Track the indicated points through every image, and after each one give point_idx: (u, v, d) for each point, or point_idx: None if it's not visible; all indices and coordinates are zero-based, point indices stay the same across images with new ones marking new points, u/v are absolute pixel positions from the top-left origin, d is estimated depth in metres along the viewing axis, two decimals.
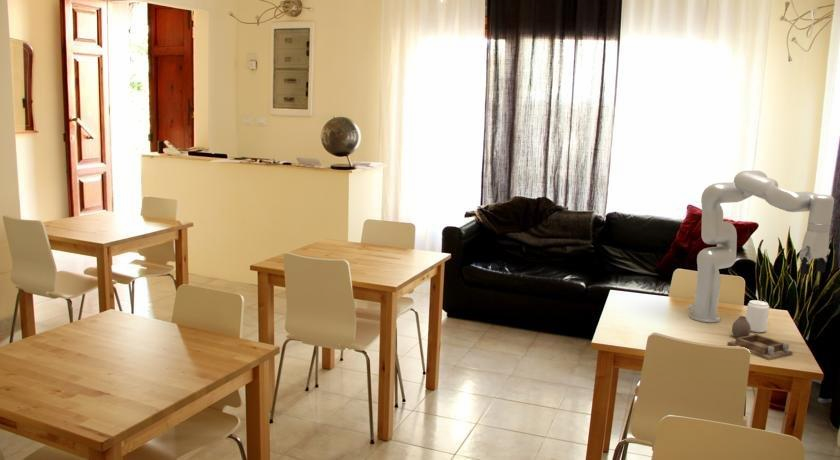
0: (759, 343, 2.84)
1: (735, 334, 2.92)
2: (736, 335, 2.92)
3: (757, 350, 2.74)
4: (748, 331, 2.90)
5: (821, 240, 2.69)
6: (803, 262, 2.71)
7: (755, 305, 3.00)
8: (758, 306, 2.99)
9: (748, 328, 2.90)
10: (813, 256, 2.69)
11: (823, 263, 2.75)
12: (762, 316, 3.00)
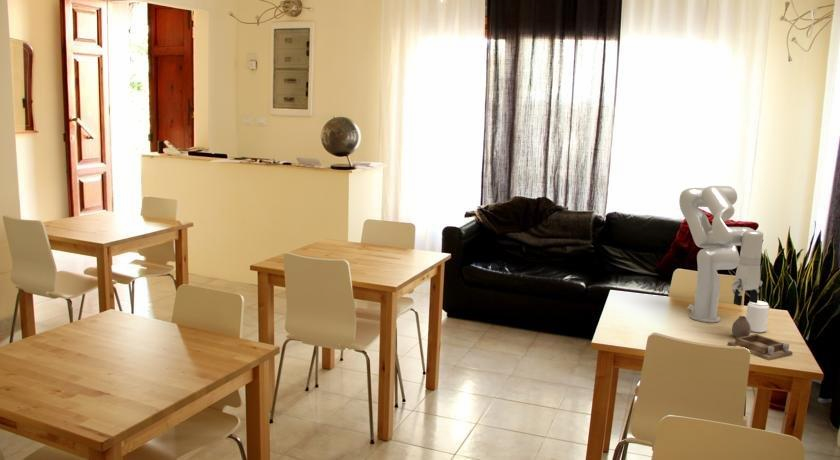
0: (759, 343, 2.84)
1: (735, 334, 2.92)
2: (736, 335, 2.92)
3: (757, 350, 2.74)
4: (748, 331, 2.90)
5: (752, 273, 2.86)
6: (736, 294, 2.87)
7: (755, 305, 3.00)
8: (758, 306, 2.99)
9: (748, 328, 2.90)
10: (745, 288, 2.86)
11: (756, 294, 2.92)
12: (762, 316, 3.00)
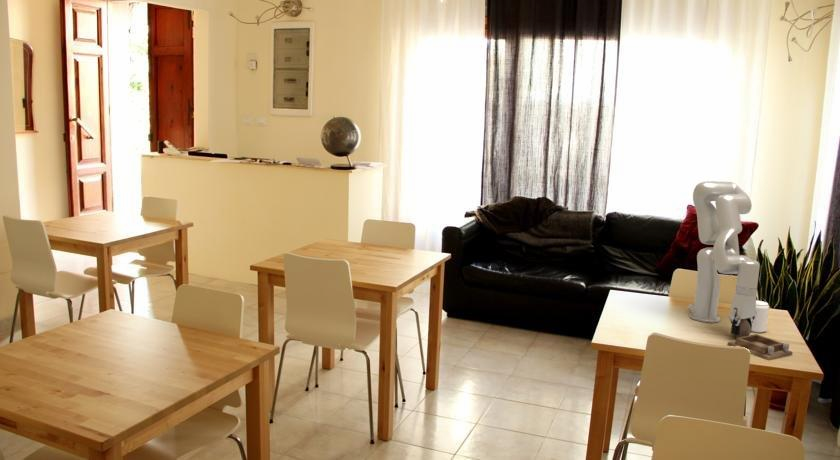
0: (759, 343, 2.84)
1: None
2: (736, 335, 2.92)
3: (757, 350, 2.74)
4: (748, 331, 2.90)
5: (748, 302, 2.88)
6: (733, 324, 2.90)
7: None
8: (758, 306, 2.99)
9: (748, 328, 2.90)
10: (740, 317, 2.89)
11: None
12: (762, 316, 3.00)
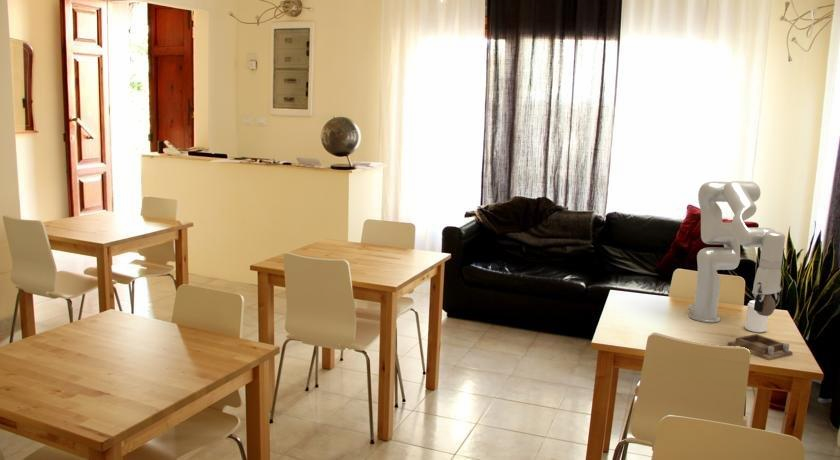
0: (759, 343, 2.84)
1: None
2: (760, 312, 2.75)
3: (757, 350, 2.74)
4: (773, 307, 2.74)
5: (772, 277, 2.72)
6: (756, 300, 2.74)
7: None
8: None
9: (773, 304, 2.74)
10: (765, 292, 2.72)
11: None
12: (762, 316, 3.00)
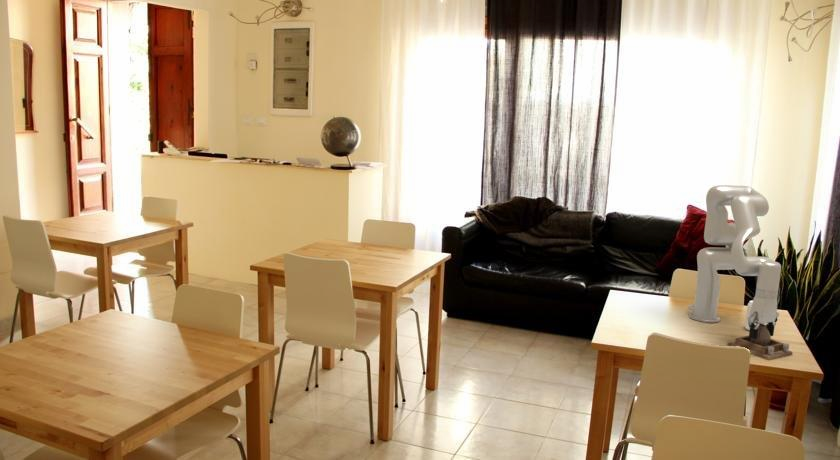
0: None
1: None
2: None
3: (757, 350, 2.74)
4: (768, 340, 2.76)
5: (768, 306, 2.74)
6: (751, 327, 2.75)
7: None
8: None
9: (768, 337, 2.76)
10: (761, 321, 2.74)
11: (772, 327, 2.80)
12: None
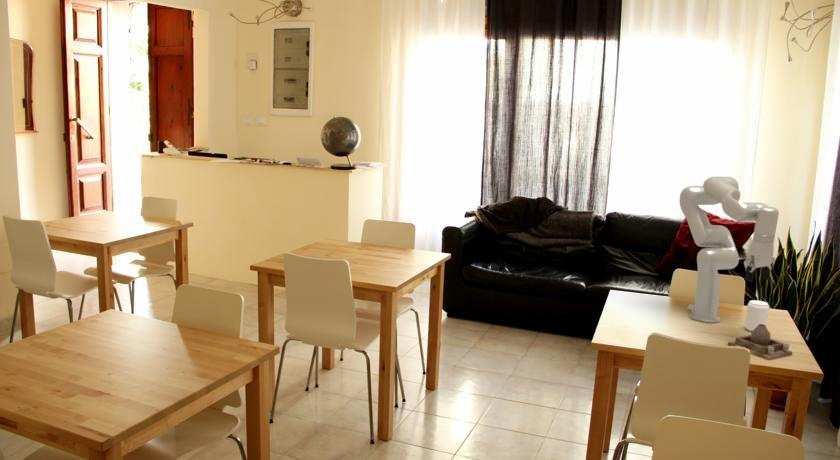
0: None
1: None
2: None
3: (757, 350, 2.74)
4: (768, 340, 2.76)
5: (765, 250, 2.82)
6: (747, 270, 2.84)
7: (755, 305, 3.00)
8: (758, 306, 2.99)
9: (768, 337, 2.76)
10: (757, 265, 2.83)
11: (767, 271, 2.88)
12: (762, 316, 3.00)
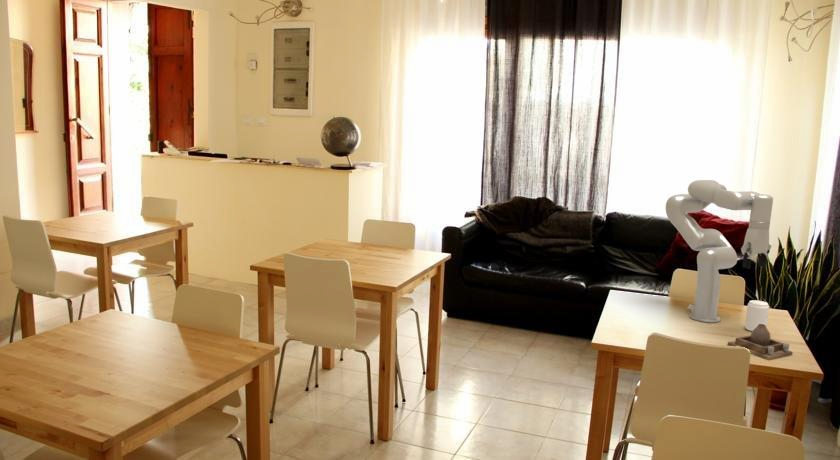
0: None
1: None
2: None
3: (757, 350, 2.74)
4: (768, 340, 2.76)
5: (761, 237, 2.88)
6: (745, 257, 2.90)
7: (755, 305, 3.00)
8: (758, 306, 2.99)
9: (768, 337, 2.76)
10: (754, 251, 2.89)
11: (764, 258, 2.94)
12: (762, 316, 3.00)
